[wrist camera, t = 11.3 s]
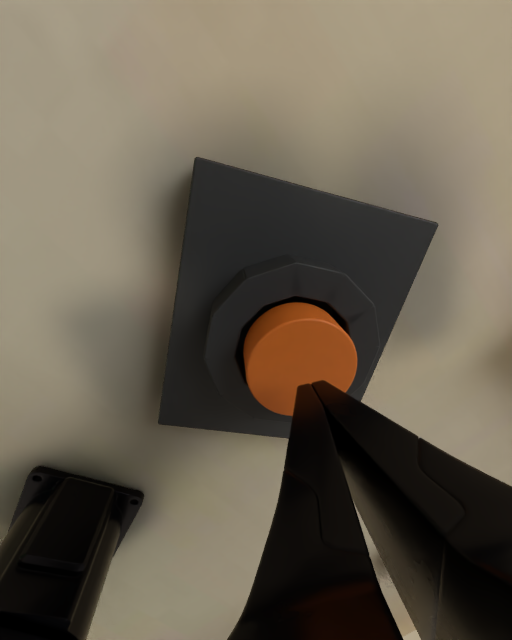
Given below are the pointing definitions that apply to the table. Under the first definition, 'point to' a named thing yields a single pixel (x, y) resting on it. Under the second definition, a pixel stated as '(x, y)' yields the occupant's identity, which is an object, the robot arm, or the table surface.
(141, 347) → the table surface
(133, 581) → the table surface
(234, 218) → the button block
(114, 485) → the robot arm
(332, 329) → the button
